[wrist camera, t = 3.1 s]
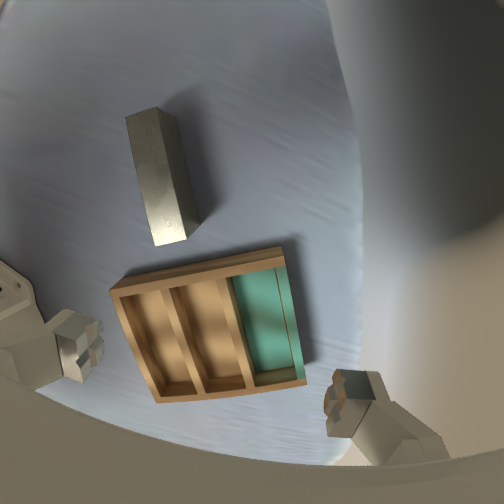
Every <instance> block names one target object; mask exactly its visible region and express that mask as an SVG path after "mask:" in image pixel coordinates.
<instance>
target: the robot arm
mask: <svg viewBox="0 0 504 504" xmlns="http://www.w3.org/2000/svg"><path fill="white" fill-rule="evenodd" d="M102 331H103V329H102V322H101V321H100V320H99V319H96V318H93V317H90V316H87V315H84V314H81V313H78V312H75V311H72V310H69V309H63V310H62V311H60V312H59V313H58V314H57V315H55V316H54V317H53V318H52V319H51V320H49V321H48V322H47V323H46V324H45V323H44V321H43V318H42V316H41V314H40V312H39V310H38V308H37V305H36V302H35V296H34V291H33V287H32V285H31V283H30V282H29V281H28V280H27V279H26V278H24V277H23V276H21V275H20V274H19V273H17V272H16V271H14V270H13V269H12V268H10V267H9V266H8V265H6V264H5V263H4V262H2V261H1V260H0V504H504V448H500V449H497V450H492V451H488V452H484V453H479V454H474V455H469V456H463V457H457V458H450V456H449V453H448V451H447V449H446V446H445V444H444V442H443V440H442V438H441V436H440V435H438V434H437V433H436V432H434V431H433V430H432V429H430V428H429V427H428V426H426V425H425V424H424V423H422V422H421V421H420V420H418V419H417V418H416V417H414V416H413V415H412V414H410V413H409V412H408V411H407V410H405V409H404V408H403V407H401V406H400V405H399V404H397V403H396V402H395V401H391V400H390V398H389V395H388V393H387V390H386V388H385V385H384V383H383V380H382V378H381V375H380V373H378V372H377V371H357V370H346V369H336V370H335V372H334V374H333V377H332V380H333V384H332V385H331V386H330V387H328V389H327V392H326V394H325V399H324V413H325V414H326V415H327V416H328V419H327V421H326V428H327V435H328V437H339V438H352V439H351V440H352V441H353V442H354V443H355V445H356V446H357V447H358V448H359V449H360V451H361V452H362V453H363V454H364V455H365V457H366V458H367V459H368V460H369V461H370V462H371V464H372V465H373V466H325V465H306V464H293V463H282V462H273V461H265V460H257V459H250V458H243V457H237V456H231V455H226V454H220V453H215V452H210V451H205V450H201V449H196V448H192V447H188V446H183V445H179V444H175V443H172V442H168V441H164V440H161V439H157V438H154V437H150V436H147V435H143V434H140V433H137V432H134V431H131V430H128V429H125V428H122V427H119V426H116V425H113V424H110V423H107V422H105V421H102V420H99V419H97V418H94V417H91V416H89V415H86V414H84V413H81V412H79V411H77V410H74V409H72V408H70V407H67V406H65V405H63V404H61V403H58V402H56V401H54V400H52V399H50V398H48V397H46V396H44V395H42V394H40V393H38V392H36V391H34V390H36V389H39V388H41V387H43V386H45V385H47V384H49V383H51V382H54V381H56V380H58V379H60V378H62V377H63V376H65V377H67V378H70V379H73V380H75V381H78V382H81V383H84V381H85V380H86V379H87V377H88V376H89V375H90V374H91V367H93V366H96V365H98V363H99V362H100V360H101V358H102V355H103V351H104V341H103V340H102V338H101V336H100V335H99V334H100V333H101V332H102Z"/></svg>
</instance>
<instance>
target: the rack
mask: <svg viewBox="0 0 504 504" xmlns="http://www.w3.org/2000/svg"><path fill="white" fill-rule="evenodd" d="M109 293H110V295H111V298H112V301H113V304H114V306H115V309H116V312H117V314H118V317H119V320H120V322H121V325H122V327H123V330H124V332H125V335H126V337H127V340H128V342H129V344H130V347H131V349H132V351H133V354H134V356H135V358H136V361H137V363H138V365H139V367H140V370H141V372H142V374H143V376H144V378H145V380H146V383H147V385H148V387H149V389H150V391H151V393H152V395H153V397H154V399H155V401H156V403H171V402H186V401H198V400H208V399H218V398H227V397H235V396H242V395H250V394H257V393H263V392H269V391H276V390H281V389H287V388H292V387H298V386H303V385H307V381H306V375H305V369H304V363H303V357H302V352H301V346H300V340H299V334H298V329H297V323H296V318H295V312H294V307H293V301H292V296H291V291H290V285H289V280H288V275H287V270H286V264H285V259H284V255H283V251H282V247H281V246H277V247H272V248H267V249H262V250H257V251H252V252H247V253H242V254H237V255H232V256H227V257H223V258H218V259H213V260H208V261H203V262H198V263H193V264H188V265H183V266H178V267H174V268H169V269H164V270H159V271H154V272H149V273H144V274H139V275H134V276H129V277H125V278H122V279H121V280H120V281H118V282H117V283H116V284H115V285H114V286H113V287H112V288H111V289H109Z"/></svg>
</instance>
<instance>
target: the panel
mask: <svg viewBox="0 0 504 504" xmlns="http://www.w3.org/2000/svg"><path fill="white" fill-rule="evenodd" d="M125 118H126V124H127V129H128V134H129V139H130V144H131V149H132V154H133V158H134V163H135V167H136V172H137V176H138V180H139V185H140V189H141V193H142V197H143V201H144V205H145V209H146V213H147V217H148V221H149V225H150V228H151V232H152V236H153V239H154V243H155V246H159V245H163V244H168V243H172V242H176V241H181V240H185V239H187V238H188V237H189V236H190V235H191V234H192V233H193V232H194V231H195V230H196V229H197V228H198V227H199V226H200V221H199V217H198V213H197V209H196V205H195V201H194V196H193V192H192V188H191V184H190V179H189V175H188V171H187V166H186V162H185V157H184V153H183V148H182V144H181V139H180V135H179V130H178V125H177V121H176V117H174V116H172V115H170V114H169V113H167V112H165V111H163V110H161V109H159V108H158V107H154V108H151V109H148V110H145V111H142V112H139V113H136V114H133V115H130V116H127V117H125Z"/></svg>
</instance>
